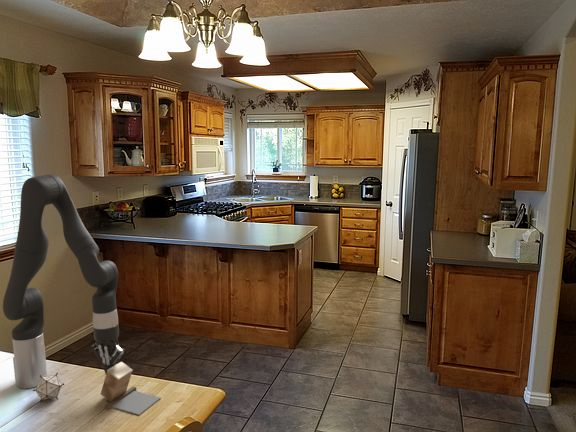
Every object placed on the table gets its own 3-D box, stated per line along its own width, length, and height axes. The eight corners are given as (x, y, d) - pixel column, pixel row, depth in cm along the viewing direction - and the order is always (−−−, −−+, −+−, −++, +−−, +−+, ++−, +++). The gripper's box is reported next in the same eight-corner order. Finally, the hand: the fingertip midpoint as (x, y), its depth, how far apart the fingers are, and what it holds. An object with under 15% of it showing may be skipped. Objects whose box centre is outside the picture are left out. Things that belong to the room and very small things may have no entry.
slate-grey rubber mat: (111, 407, 140) (111, 406, 140) (134, 391, 149) (134, 390, 149) (139, 415, 136) (139, 414, 136) (160, 398, 145) (160, 397, 145)
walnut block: (100, 394, 144) (107, 369, 141) (114, 385, 150) (121, 361, 147) (111, 402, 143) (118, 378, 140) (125, 393, 148) (132, 369, 145)
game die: (52, 411, 145) (47, 398, 138) (30, 400, 146) (23, 387, 139) (72, 387, 151) (67, 373, 144) (50, 376, 152) (45, 362, 145)
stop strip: (105, 408, 140) (105, 405, 140) (133, 389, 151) (132, 386, 151) (109, 409, 139) (109, 406, 139) (136, 390, 150) (136, 387, 150)
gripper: (81, 324, 142) (85, 375, 145) (112, 330, 137) (116, 383, 140) (99, 316, 149) (103, 365, 152) (130, 322, 144) (133, 372, 146)
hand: (109, 373), depth 146 cm, fingers closed
